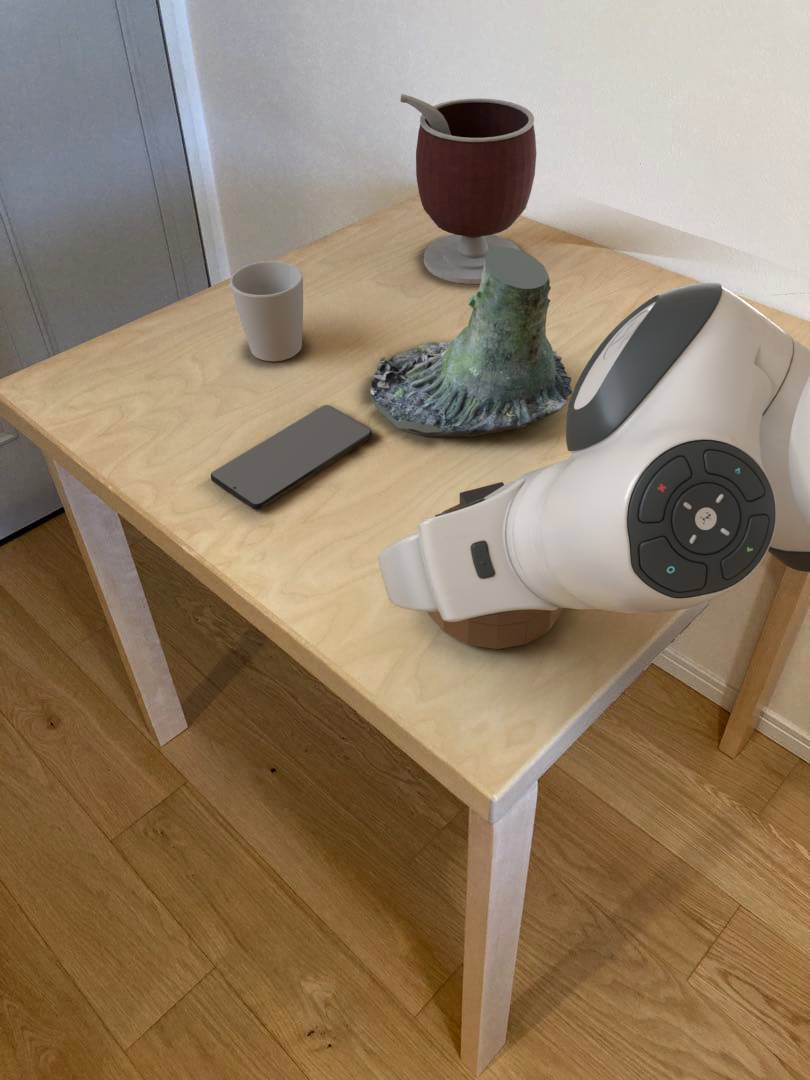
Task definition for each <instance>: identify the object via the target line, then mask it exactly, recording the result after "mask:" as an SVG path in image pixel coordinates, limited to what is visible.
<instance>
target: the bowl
mask: <svg viewBox="0 0 810 1080" xmlns="http://www.w3.org/2000/svg"><path fill="white" fill-rule="evenodd" d="M459 505H460V503H458V504H456V505H453V506H452V507H450V508H449V507H448V508H447V509H444V510H443V511H442V512H441V513H444V512H447V511H450V510H453V509H456V508H459ZM562 611H563V608H558V609H556V610H539V609H525V610H515V611H513V612H507V613H501V614H495V615H489V616H485V617H480V618H475V619H470V620H461V621H457V622H448V621H445V620H443V619H442V617H441V614H440V612H439V611H433V612H427V614H428V616H429V617H430V618H431V619H432V620H433V622H434V623H435V624H436V625H437V626H438V627H439V628H440V629H441V630H442V632H444V634H446V635H448V636H450V637H452V638H454V639H456V640H458V641H460V642H462V643H464V644H466V645H467V646H468V645H469V646H473V647H480V648H486V649H493V650H494V649H495V650H497V649H498V650H501V649H506V648H513V647H518V646H525V645H527V644H529V643H531V642H532V641H534V640H536V639H538V638H540V637H541V636H543V635H546V634H547V633H548V632H550V630H551V628H552V627H553V626H554V625H555V623H556V622H557V620H558V619H559V618H560V616H561V615H562Z"/></svg>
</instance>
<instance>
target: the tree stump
mask: <svg viewBox="0 0 810 1080" xmlns="http://www.w3.org/2000/svg"><path fill="white" fill-rule="evenodd" d="M550 281H551V280H550V276H549V273H548V271H547V269H546V268H545V266H544V265H543V263H542V262H541V261H539V260H538V259H537V258H536V257H535V256H533V255H531V254H530V253H528V252H525V251H523V250H521V249H520V250H517V249H514V248H507V247H499V248H493V249H491V250H489V251H488V252H487V254H486V256H485V262H484V268H483V273H482V276H481V283H480V284H479V288H478V291H477V292H476V293H475V294H473V295H472V296H470V297H469V298H468V303H467V305H468V306H470V307H471V308H472V310H471V315H470V318H469V320H468V324H467V326H465V327H464V328H462V330H461V331H460V332H459V333H458V334H457V335H456V337H455V338H454V339H452V340H451V341H448V342H445V341H441V342H439V343H438V342H435V341H432V342H428V343H425V344H420V345H418V346H415V347H413V348H411V349H409V350H407V351H405V352H401V353H400V354H397V355H393V356H391V357H390V358H389V359H388V360H386V357H385V356H384V357H380V361H379V363H378V364H377V367H376V372H375V373H374V374H373V376H372V380H371V385H370V387H369V390H370V397H371V399H372V402H373V404H374V405H375V407H376V409H377V411H378V412H379V413H380V414H382V416H384V417H385V418H386V419H387V420H388V421H389V422H391V424H393V425H394V426H395V427H396V428H397V429H398V430H400V431H402V432H407V433H411V434H414V435H417V436H422V437H477V436H482V435H489V434H494V433H499V432H500V433H501V432H505V431H512V430H518V429H520V428H523V427H525V426H528V425H531V424H534V423H536V422H539V421H540V420H543V419H544V418H547V417H548V416H551V415H553V414H555V413H558V412H559V411H560V410H562V409H563V407H564V406H566V404H567V403H568V401H567V400H568V397H570V396H571V395H572V393H573V390H572V387H571V382H572V376H571V375H569V374H568V372H567V371H566V369H565V366H564V364H563V363H562V356H561V355H558V351H555V350H554V349H553V347H552V345H551V343H550V341H549V340H548V337H547V333H546V332H547V330H546V329H547V326H546V325H547V313H548V309H549V306H550V302H551V300H550V299H549V293H550V291H551V289H552V286H551V285H550V284H551V282H550Z"/></svg>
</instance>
